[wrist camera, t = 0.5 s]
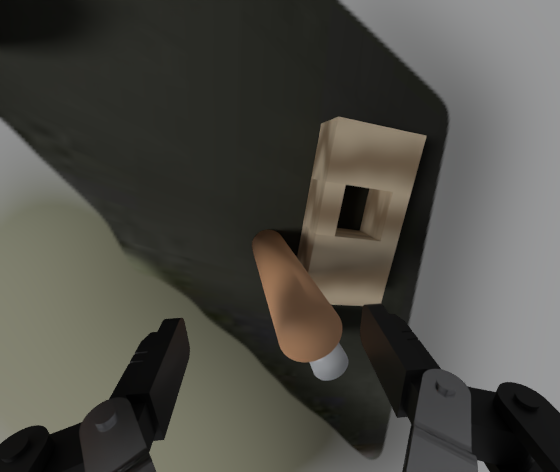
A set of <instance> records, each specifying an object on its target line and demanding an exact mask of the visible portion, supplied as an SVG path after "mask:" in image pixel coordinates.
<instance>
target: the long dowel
mask: <svg viewBox="0 0 560 472" xmlns="http://www.w3.org/2000/svg"><path fill="white" fill-rule="evenodd" d="M252 250H253V253H254V257H255V260H256V264H257V267H258V271H259V274H260V278H261V281H262V285H263V289H264V292H265V296H266V299H267V303H268V306H269V310H270V313H271V317H272V320H273V324H274V328H275V331H276V335H277V338H278V342H279V345H280V348H281V350H282V351H283V353H284V354H285V355H286V356H287V357H289V358H290V359H292V360H295V361H298V362H312V361H316V360H319V359H321V358H323V357H325V356H327V355H328V354H329V353H331V352H332V351H333V350H334V349H335V347H336V346H337V344H338V343H339V341H340V339H341V335H342V322H341V319H340V317H339V316H338V314H337V313H336V311H335V310H334V308H333V307H332V306H331V304H330V303H329V302H328V300H327V299H326V297H325V296H324V295H323V293H322V292H321V290H320V289H319V288H318V286H317V285H316V283H315V282H314V281H313V279H312V278H311V277H310V275H309V274H308V272H307V271H306V270H305V268H304V267H303V265H302V264H301V263H300V261H299V260H298V259H297V257H296V256H295V254H294V253H293V252H292V250H291V249H290V247H289V246H288V245H287V243H286V242H285V240H284V239H283V238H282V236H281V235H280V234H279V233H278V232H276V231H274V230H263V231H261V232H259V233H258V234H257V235H256V236H255V237H254V239H253V242H252Z"/></svg>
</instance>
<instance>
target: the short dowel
mask: <svg viewBox="0 0 560 472" xmlns="http://www.w3.org/2000/svg"><path fill="white" fill-rule="evenodd" d="M310 365H311V367H312V370H313V372H314V374H315V376H316V377H317V378H319V379H321V380H333V379H336V378H338V377H339V376H341V375H342V374H343V373H344V372H345V370H346V368H347V366H348V357H347V355H346V353H345V352H344V350H343V349H342V347H341V345H340V344H339V343H338V344H337V346H336V347H335V349H334V350H333V351H332V352H331V353H329V354H328V355H327V356H325V357H323V358H321V359H319V360H316V361H312V362H310Z"/></svg>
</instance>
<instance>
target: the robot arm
mask: <svg viewBox="0 0 560 472" xmlns="http://www.w3.org/2000/svg"><path fill="white" fill-rule="evenodd" d="M360 337H361V342H362V345H363V347H364V349H365V351H366V354H367V356H368V358H369V360H370V362H371V364H372V366H373V368H374V370H375V372H376V375H377V377H378V379H379V381H380V383H381V385H382V387H383V389H384V391H385V393H386V395H387V398H388V400H389V402H390V404H391V406H392V408H393V410H394V412H395V414H396V416H397V418H399V417H408V418H409V420H410V422H411V429H410V434H409V439H408V445H407V450H406V455H405V461H404V467H403V471H402V472H478V466H477V460H479V461H483V462H484V463H485V465H486V466H487V468H488V469H489V471H490V472H560V413H559V412H558V411H557V410H556V409H555V408H554V407H553V406H552V405H551V404H550V403H549V402H548V401H547V400H546V399H545V398H544V397H543V396H541V395H540V394H539V393H537V392H536V391H534V390H532V389H530V388H528V387H526V386H524V385H521V384H517V383H512V382H505V383H502V384H500V385H499V387H498V389H497V391H496V392H492V391H487V390H481V389H476V388H471V387H468V386H466V384H465V383H464V382H463V381H462V380H461V379H460V378H458V377H457V376H456V375H454V374H452V373H450V372H448V371H445V370H442V369H441V368H440V367H439V366H438V364H437V363H436V362H435V360H434V359H433V358H432V356H431V355H430V354H429V352H428V351H427V350H426V348H425V347H424V346H423V345H422V343H421V342H420V341H419V340H418V338H417V337H416V335H415V334H414V333H413V332H412V330H411V329H410V327H409V326H408V325H407V323H406V322H405V321H404V320H402V319H401V318H400V317H398V316H397V315H395V314H389V313H388V312H387V310H386V309H385V308H384V306H383V305H382V304H381V303H378V304H365V305H363V308H362V318H361V328H360ZM189 353H190V346H189V341H188V336H187V331H186V327H185V322H184V319H183V318H173V319H165V320H163V322H162V324H161V326H160V328H159V330H158V332H152V333H150V334H149V335H148V336H147V337H146V338H145V339H144V340H142V341H141V343H140V345H139V346H138V348H137V350H136V352H135V355H134V356H133V357H132V359H131V361H130V364H129V365H128V366H127V368H126V370H125V372H124V373H123V375H122V377H121V379H120V381H119V382H118V384H117V386H116V388H115V390H114V391H113V393H112V395H111V397H110V398H109V400H106V401H104V402H102V403H101V404H99V405H97V406H96V407H95V408H94V409H92V410H91V412H89V413H88V415H87V416H86V417H85V418H84V420H83V422H81V423H79V424H76V425H74V426H71V427H68V428H66V429H63V430H60V431H58V432H55V433H52V434H49V432H48V430H47V429H46V428H45V427H43V426H39V425H38V426H31V427H28V428H25V429H22V430H20V431H18V432H17V433H15V434H13V435H12V436H10V437H8V438H7V439H6V440H4V441H3V442H2V443H1V444H0V472H156V470H155V467H154V465H153V462H152V459H151V457H150V454H149V451H150V448H151V445H152V442H153V441H157V440H164V438H165V435H166V432H167V429H168V425H169V422H170V419H171V415H172V412H173V409H174V406H175V403H176V399H177V396H178V393H179V389H180V386H181V383H182V380H183V376H184V373H185V370H186V367H187V363H188V360H189Z"/></svg>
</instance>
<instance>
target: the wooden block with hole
mask: <svg viewBox="0 0 560 472" xmlns="http://www.w3.org/2000/svg"><path fill="white" fill-rule="evenodd" d="M425 140H426V136H425V135H420V134H416V133H411V132H406V131H402V130H397V129H393V128H388V127H384V126H379V125H374V124H370V123H365V122H361V121H356V120H352V119H347V118H342V117H337V118H334V119H332V120H329V121H327V122H324V123H322V124H321V128H320V134H319V139H318V145H317V150H316V156H315V161H314V167H313V172H312V178H311V183H310V189H309V194H308V200H307V205H306V211H305V217H304V222H303V228H302V233H301V239H300V244H299V250H298V255H297V259H298V260H299V261H300V263H301V264H302V265H303V267H304V268H305V270H306V271H307V272H308V274H309V275H310V277H311V278H312V279H313V281H314V282H315V283H316V285H317V286H318V288H319V289H320V290H321V292H322V293H323V295H324V296H325V297H326V299H327V300H328V302H329V303H330V304H332V305H352V306H363V305H365V304H378V303H381V301H382V297H383V294H384V290H385V286H386V283H387V279H388V275H389V272H390V268H391V264H392V261H393V257H394V253H395V250H396V246H397V242H398V239H399V235H400V231H401V228H402V224H403V221H404V217H405V213H406V210H407V206H408V202H409V199H410V195H411V191H412V188H413V184H414V180H415V177H416V173H417V169H418V166H419V162H420V158H421V155H422V151H423V147H424V144H425ZM346 185H351V186H358V187H364V188H370V189H369V193H368V197H367V201H366V206H365V210H364V214H363V218H362V223H361V227H360V231H359V230H351V229H342V228H337V223H338V219H339V214H340V209H341V205H342V200H343V195H344V191H345V186H346Z"/></svg>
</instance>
